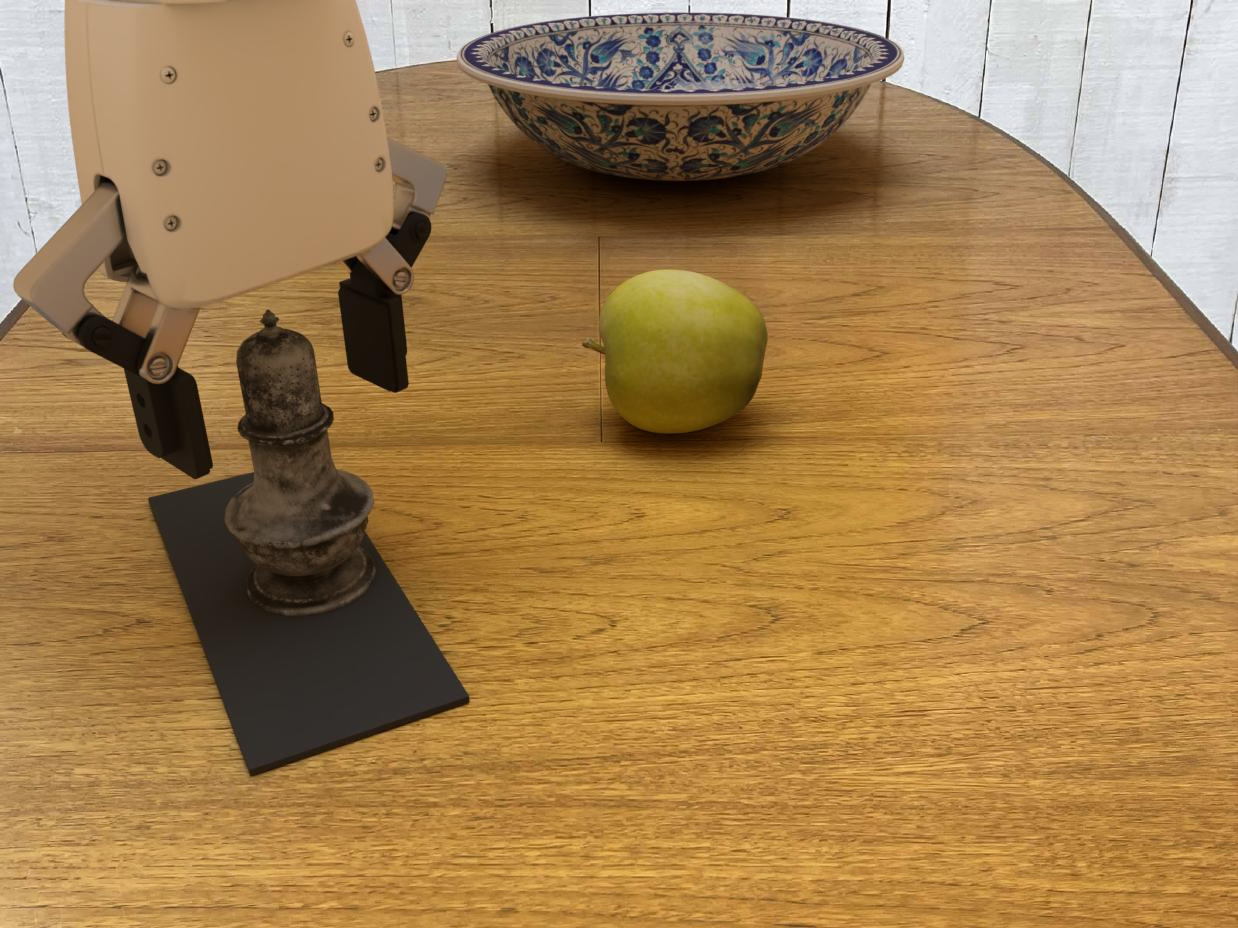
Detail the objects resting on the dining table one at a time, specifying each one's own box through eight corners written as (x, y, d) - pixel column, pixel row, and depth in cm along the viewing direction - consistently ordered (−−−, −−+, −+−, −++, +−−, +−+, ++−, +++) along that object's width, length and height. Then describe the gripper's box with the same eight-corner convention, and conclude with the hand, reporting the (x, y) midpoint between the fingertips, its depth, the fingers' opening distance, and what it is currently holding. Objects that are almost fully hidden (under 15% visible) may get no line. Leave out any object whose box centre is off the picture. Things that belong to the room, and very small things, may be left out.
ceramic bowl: (858, 111, 116) (868, -3, 111) (930, 240, 87) (948, 94, 82) (489, 113, 117) (482, 0, 112) (436, 242, 88) (423, 97, 82)
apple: (585, 390, 67) (581, 249, 63) (755, 389, 67) (762, 247, 63) (581, 463, 61) (576, 310, 57) (769, 461, 61) (778, 308, 57)
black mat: (250, 776, 43) (248, 769, 42) (148, 502, 58) (147, 497, 58) (470, 702, 46) (469, 695, 46) (318, 461, 61) (317, 455, 61)
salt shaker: (231, 554, 54) (179, 293, 48) (368, 527, 55) (334, 271, 49) (247, 634, 49) (191, 354, 43) (396, 601, 51) (362, 327, 45)
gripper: (356, -99, 47) (401, 325, 56) (-128, -43, 36) (22, 473, 45) (491, -84, 43) (517, 374, 52) (-15, -15, 32) (127, 552, 41)
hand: (286, 419), depth 48 cm, fingers open, 8 cm apart
